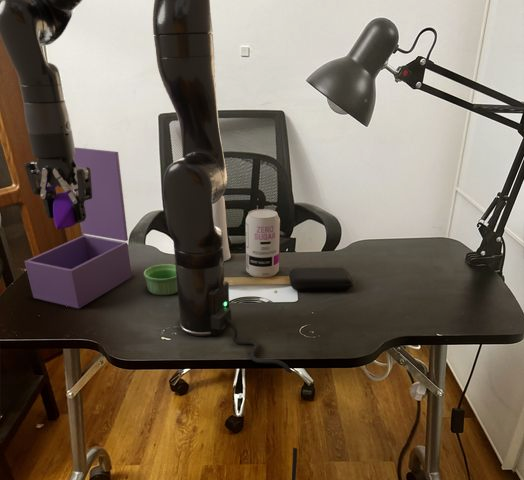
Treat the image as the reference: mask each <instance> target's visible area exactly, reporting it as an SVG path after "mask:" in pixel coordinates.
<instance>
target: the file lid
mask: <svg viewBox="0 0 524 480" xmlns="http://www.w3.org/2000/svg"><path fill="white" fill-rule="evenodd" d="M74 161H75V163H76V165H77V167H81V168H86V167H88V168H90V170H91V185H92V198H91V199H89V200H86V201H85V202H84V206H85V212H86V218H85V221H83V222H81V223H80V227H81V233H82V235H88V236H93V237H99V238H105V239H110V240H116V241H122V242H128V241H129V237H128V228H127V227H128V226H127V220H126V219H127V217H126V210H125V201H124V191H123V183H122V174H121V164H120V156H119V151H115V150H114V151H113V150H106V149H105V150H104V149H95V148H84V147H75V155H74ZM75 176H76V175H75Z"/></svg>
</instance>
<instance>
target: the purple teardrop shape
mask: <svg viewBox="0 0 524 480" xmlns="http://www.w3.org/2000/svg"><path fill="white" fill-rule="evenodd" d="M74 193H75V192H74ZM75 195H76V197H77V194H76V193H75ZM54 197H55V199H54V202H53V217H54V218H53V222H54V226H55V228H56V230H63V229H69V228H71V227H74V226H75V225H77V224H78V223H77V222H75V218H74V212H73V208H72V204H73V202H72V201H71V199H70V197H69V195H68V194H67V193H65V192H64V191H63V192H57V193H56V194H55V196H54Z"/></svg>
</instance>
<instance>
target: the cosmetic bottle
mask: <svg viewBox="0 0 524 480" xmlns="http://www.w3.org/2000/svg"><path fill="white" fill-rule="evenodd" d="M212 209H213V220H214V226H216V227H218V228H220V229H221V231H222V234H223V258H224V259H223V260H224V262H226V261H229V260H230V259H231V251H230V247H229V246H230V245H229V239H228V229H227V228H228V227H227V215H226V214H227V213H226V203H225V196H222V197H221V198H220V199H219V200H218V201H217V202H215V203H214V204H212Z"/></svg>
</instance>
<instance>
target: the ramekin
mask: <svg viewBox="0 0 524 480" xmlns="http://www.w3.org/2000/svg"><path fill="white" fill-rule="evenodd" d="M143 276H144V278H145V281H146V285H147V286H146V287H147V290H148V291H149V293H151V294H153V295H156V296H169V295H170V296H171V295H173V294H178V288H177V277H176V265H175V264H170V263H162V264H155V265H152V266H149V267H147V268H146V269H145V270H144V271H143Z"/></svg>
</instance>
